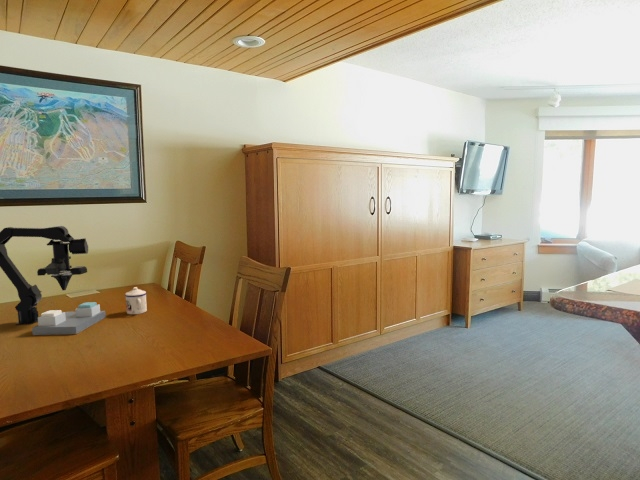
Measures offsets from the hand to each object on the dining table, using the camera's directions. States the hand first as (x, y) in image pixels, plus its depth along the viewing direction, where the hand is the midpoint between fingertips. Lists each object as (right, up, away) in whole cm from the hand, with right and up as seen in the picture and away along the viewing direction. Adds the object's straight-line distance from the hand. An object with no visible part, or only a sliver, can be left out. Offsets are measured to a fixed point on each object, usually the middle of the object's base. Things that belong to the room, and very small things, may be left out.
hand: (64, 290), depth 183 cm
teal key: (+12, -8, -3) cm, 15 cm away
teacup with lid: (+28, -12, +10) cm, 32 cm away
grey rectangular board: (+8, -14, -9) cm, 18 cm away
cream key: (+4, -10, -15) cm, 19 cm away
